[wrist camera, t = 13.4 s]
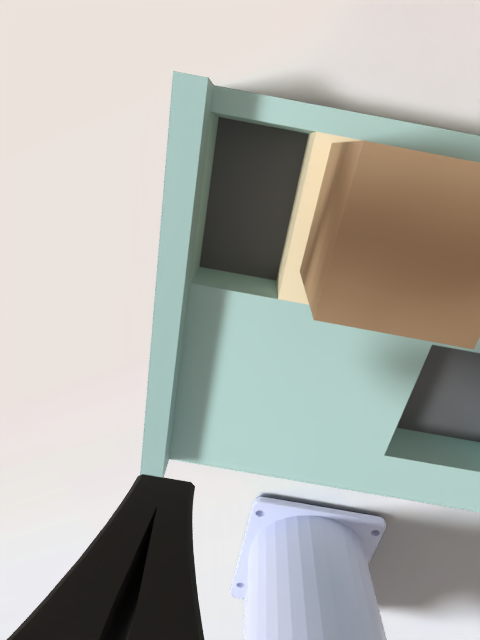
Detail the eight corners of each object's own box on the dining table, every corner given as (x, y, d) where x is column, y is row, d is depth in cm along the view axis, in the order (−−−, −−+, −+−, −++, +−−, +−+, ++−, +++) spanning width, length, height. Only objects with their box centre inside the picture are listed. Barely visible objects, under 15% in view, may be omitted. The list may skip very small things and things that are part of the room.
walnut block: (414, 292, 15) (473, 349, 11) (299, 271, 15) (313, 320, 10) (463, 168, 13) (558, 178, 9) (331, 142, 13) (363, 140, 9)
